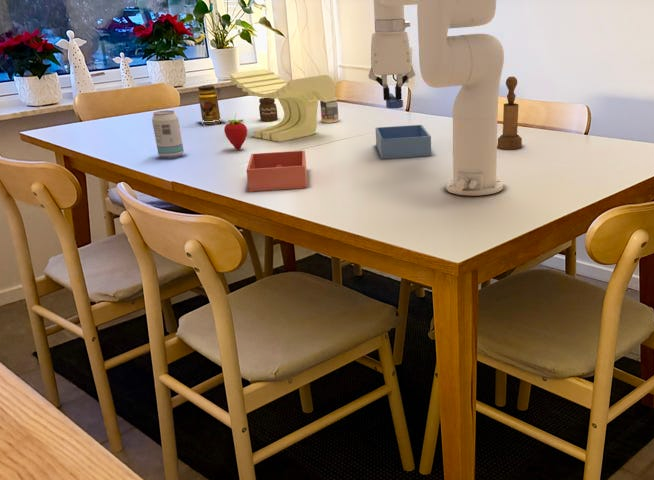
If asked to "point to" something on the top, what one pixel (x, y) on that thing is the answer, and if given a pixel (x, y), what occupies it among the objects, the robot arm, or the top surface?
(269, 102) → the dark brown jar
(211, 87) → the condiment
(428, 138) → the bin blue
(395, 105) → the spoon blue
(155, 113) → the beverage can
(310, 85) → the slatted curved stool
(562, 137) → the top surface
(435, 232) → the top surface
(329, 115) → the pill bottle
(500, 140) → the brown tall knobbed column
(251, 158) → the bin terracotta
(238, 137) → the strawberry
